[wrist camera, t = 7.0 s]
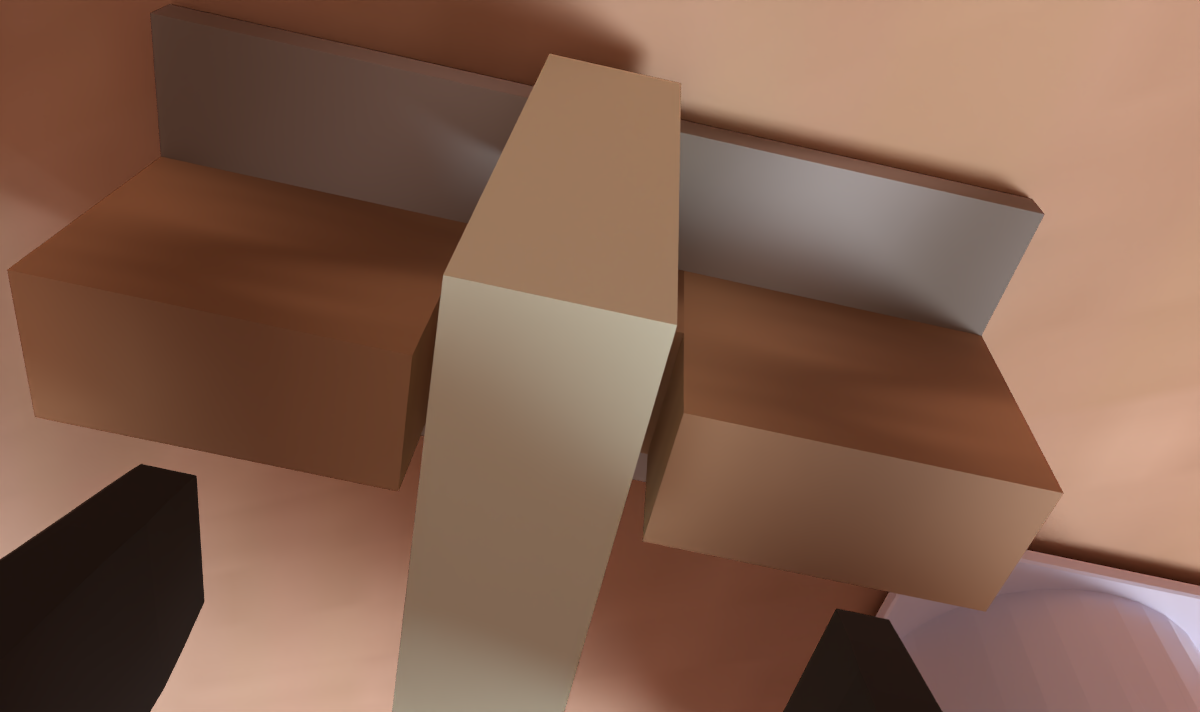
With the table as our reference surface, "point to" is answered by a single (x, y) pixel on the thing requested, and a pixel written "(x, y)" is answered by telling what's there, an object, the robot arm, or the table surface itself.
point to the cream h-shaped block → (542, 391)
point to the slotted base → (413, 289)
